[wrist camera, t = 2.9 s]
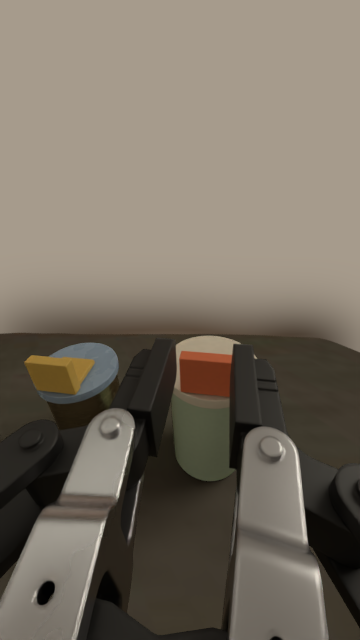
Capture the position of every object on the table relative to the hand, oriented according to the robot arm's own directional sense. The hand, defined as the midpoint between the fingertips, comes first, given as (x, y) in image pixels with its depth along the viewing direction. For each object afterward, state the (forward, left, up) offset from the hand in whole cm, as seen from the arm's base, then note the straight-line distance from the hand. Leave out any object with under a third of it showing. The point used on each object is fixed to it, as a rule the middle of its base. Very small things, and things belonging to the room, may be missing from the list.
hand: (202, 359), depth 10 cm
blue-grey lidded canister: (+14, -10, -22) cm, 28 cm away
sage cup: (0, -10, -22) cm, 24 cm away
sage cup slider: (0, -8, -9) cm, 12 cm away
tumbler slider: (+14, -8, -11) cm, 20 cm away
